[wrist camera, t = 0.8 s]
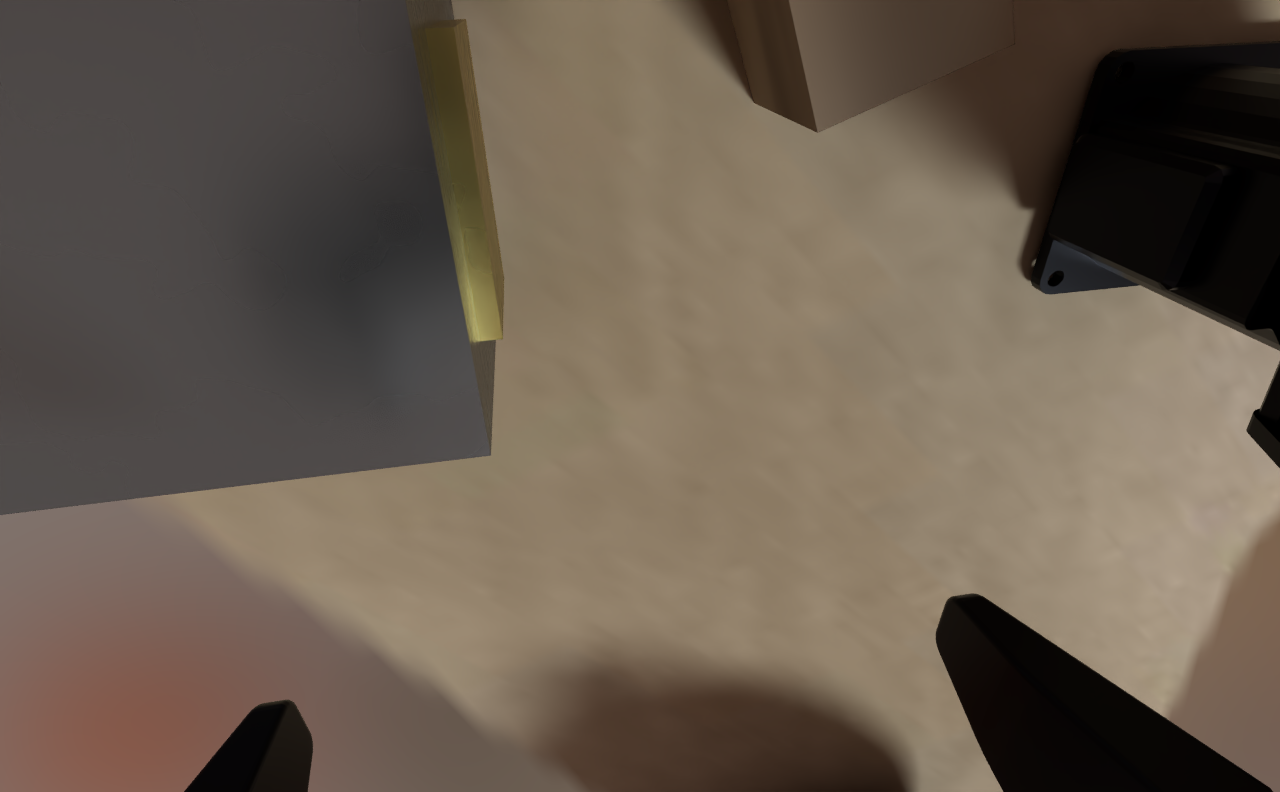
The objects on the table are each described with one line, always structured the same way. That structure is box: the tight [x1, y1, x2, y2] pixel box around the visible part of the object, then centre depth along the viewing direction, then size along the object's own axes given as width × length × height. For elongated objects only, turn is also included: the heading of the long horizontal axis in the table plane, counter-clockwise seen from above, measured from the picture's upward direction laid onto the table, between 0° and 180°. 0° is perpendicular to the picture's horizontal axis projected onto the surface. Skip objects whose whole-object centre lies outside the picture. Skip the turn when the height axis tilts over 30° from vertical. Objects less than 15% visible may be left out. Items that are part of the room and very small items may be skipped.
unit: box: [0, 0, 504, 515], centre depth 12 cm, size 10×8×7 cm
